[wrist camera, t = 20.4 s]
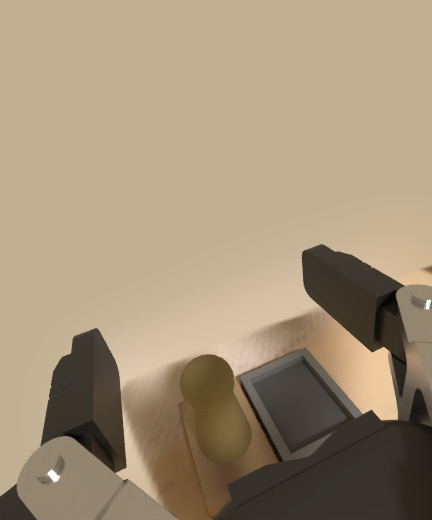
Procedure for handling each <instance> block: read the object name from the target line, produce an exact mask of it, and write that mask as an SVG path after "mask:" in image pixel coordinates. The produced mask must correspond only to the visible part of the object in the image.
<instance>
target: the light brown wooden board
mask: <svg viewBox="0 0 432 520" xmlns="http://www.w3.org/2000/svg"><path fill="white" fill-rule="evenodd" d="M234 382H235V383H234V389H233V392H234V394H235V396H236V398H237V400H238V402H239V404H240V406H241V408H242V410H243V412H244V414H245V416H246V418H247V420H248V422H249V424H250V426H251V432H252V437H251V443H250V445H249V447H248V449H247V451H246V452H245V453H244V454H243V455H242V456H241V457H240V458H239V459H237V460H236V461H234V462H232V463H226V464H220V463H215V462H213V461H211V460H209V459H208V458H206V456H205V455H204V454H203V452H202V451H201V448H200V445H199V441H198V435H197V429H196V424H195V418H194V412H193V407H192V406H191V405H190V404H189V403H188V402H187V401H184V402H182V403H180V404H179V408H180V412H181V415H182V419H183V423H184V426H185V430H186V434H187V437H188V441H189V445H190V449H191V452H192V456H193V460H194V463H195V467H196V471H197V474H198V478H199V482H200V486H201V489H202V493H203V497H204V500H205V504H206V508H207V511H208V513H209V515H210V517H213V516H215V515H216V514H217V513H218V512H219V511H220V509H221V508H222V507H223V506H224V505H225V504H226V503H227V502H228V501H229V500H230V499H231V496H230V493H229V490H228V487H227V485H228V484H230V483H232V482H234V481H236V480H238V479H239V478H241V477H243V476H245V475H247V474H249V473H251V472H253V471H255V470H257V469H259V468H261V467H263V466H265V465H268V464H273V463H279V462H278V460H277V458H276V456H275V454H274V452H273V450H272V448H271V446H270V444H269V442H268V440H267V438H266V436H265V434H264V432H263V430H262V428H261V426H260V424H259V422H258V420H257V418H256V417H255V415H254V413H253V411H252V409H251V407H250V405H249V403H248V401H247V399H246V397H245V395H244V393H243V391H242V389H241V387H240V385H239V383H238V381H237V379H234Z"/></svg>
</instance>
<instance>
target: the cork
mask: <svg viewBox="0 0 432 520" xmlns="http://www.w3.org/2000/svg"><path fill="white" fill-rule="evenodd" d="M234 383H235V382H234V375H233V371H232V369H231V367H230V365H229V364H228V363H227V362H226V361H225V360H224V359H223V358H221V357H218V356H216V355H209V354H207V355H201V356H199V357H197V358H194V359H193V360H192V361H190V362H189V363H188V365H187V366H186V367H185V369H184V371H183V373H182V376H181V390H182V394H183V396H184V398H185V400H186V401H187V402H188V403H189V404H190V405H191V406H192V407H193V412H194V418H195V424H196V429H197V435H198V441H199V445H200V448H201V451H202V452H203V454H204V455H205V456H206V458H208V459H209V460H211V461H213V462H215V463H220V464H226V463H232V462H234V461H236V460H237V459H239V458H240V457H241V456H242V455H243V454H244V453H245V452H246V451H247V449H248V447H249V445H250V443H251V437H252V432H251V426H250V424H249V422H248V420H247V418H246V416H245V414H244V412H243V410H242V408H241V406H240V404H239V402H238V400H237V398H236V396H235V394H234V392H233V389H234Z"/></svg>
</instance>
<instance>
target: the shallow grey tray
mask: <svg viewBox="0 0 432 520" xmlns="http://www.w3.org/2000/svg"><path fill="white" fill-rule="evenodd" d="M240 381H241V384H242V386H243V388H244V390H245V392H246V394H247V396H248V398H249V400H250V402H251V404H252V406H253V408H254V410H255V412H256V413H257V415H258V417H259V419H260V421H261V423H262V425H263V427H264V429H265V431H266V433H267V435H268V437H269V439H270V440H271V442H272V444H273V446H274V448H275V450H276V452H277V454H278V456H279V458H280V460H281V462H284V461H289V460H294V459H299V458H305V457H308V456H310V455H311V454H313V453H314V452H315V451H316V450H317V449H318V448H319V447H320V446H321V445H322V444H323V443H324V441H325V440H326V439H327V438H328V437H329V436H330V435H331V434H332V433H333V432H334V431H335V430H336V429H337V428H338V427H340V426H341V425H343V424H345V423H347V422H349V421H351V420H353V419H355V418H357V417H359V416H361V415H363V414H362V413H361V412H360V410H359V409H358V408H357V407H356V406H355V405H354V403H353V402H352V401H351V400H350V399H349V398H348V396H347V395H346V394H345V393H344V392H343V391H342V390H341V388H340V387H339V386H338V385H337V384H336V383H335V381H334V380H333V379H332V378H331V377H330V376H329V374H328V373H327V372H326V371H325V370H324V369H323V368H322V366H321V365H320V364H319V363H318V362H317V361H316V359H315V358H314V357H313V356H312V355H311V354H310V352H309V351H308V350H307V349H306V348H303V349H300V350H298V351H296V352H294V353H291V354H289V355H287V356H285V357H282V358H280V359H278V360H276V361H274V362H271V363H269V364H267V365H265V366H262V367H260V368H258V369H256V370H253V371H251V372H249V373H247V374H244V375H242V376H240Z"/></svg>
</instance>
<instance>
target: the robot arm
mask: <svg viewBox="0 0 432 520" xmlns="http://www.w3.org/2000/svg"><path fill="white" fill-rule="evenodd" d="M302 266H303V282H304V287H305V290H306V292H307V294H308V295H309V296H310V297H311V298H312V299H313V300H314V301H315V302H316V303H317V304H318V305H319V306H321V307H322V308H323V309H324V310H325V311H326V312H327V313H328V314H330V315H331V316H332V317H333V318H334V319H335V320H336V321H337V322H338V323H340V324H341V325H342V326H343V327H344V328H345V329H346V330H347V331H349V332H350V333H351V334H352V335H353V336H354V337H355V338H356V339H358V340H359V341H360V342H361V343H362V344H363V345H364V346H365V347H367V348H368V349H369V350H370V351H371V352H374V351H376V350H378V349H380V348H382V347H385V348H386V349H388V350H389V353H388V359H389V365H390V370H391V375H392V380H393V385H394V390H395V396H396V401H397V407H398V420H382V421H381V420H380V419H379V418H378V416H377V415H376V414H375V413H374V412H373V411H372V410H370V411H368V412H367V413H365V414H363V415H361V416H359V417H357V418H355V419H353V420H351V421H349V422H347V423H345V424H343V425H341V426H340V427H338V428H337V429H336V430H335V431H334V432H333V433H332V434H331V435H330V436H329V437H328V438H327V439H326V440H325V441H324V443H323V444H322V445H321V446H320V447H319V448H318V449H317V450H316V451H315V452H314V453H313V454H311V455H310V456H308V457H305V458H299V459H294V460H289V461H284V462H279V463H273V464H268V465H265V466H263V467H261V468H259V469H257V470H255V471H253V472H251V473H249V474H247V475H245V476H243V477H241V478H239V479H238V480H236V481H234V482H232V483H230V484H228V485H227V487H228V490H229V493H230V496H231V499H230V500H229V501H228V502H227V503H226V504H225V505H224V506H223V507H222V508H221V509H220V511H219V512H218V513H217V514H216V516H215V518H214V519H213V520H432V287H431V286H427V285H408V286H404V285H402V284H401V283H399V282H397V281H395V280H394V279H392V278H390V277H389V276H387V275H385V274H383V273H381V272H380V271H378V270H376V269H375V268H371V266H370V265H368V264H366V263H363V262H362V261H361V260H359V259H358V258H356V257H354V256H352V255H349V254H345V253H342V252H335V251H333V250H331V249H330V248H328V247H326V246H325V245H322V244H321V245H318V246H315V247H313V248H310V249H307V250H305V251H303V253H302ZM51 387H52V388H50V394H49V398H50V399H49V401H48V406H47V411H46V418H45V423H44V429H43V435H42V441H41V446H40V448H38V449H37V450H36V451H35V452H34V453H33V454H32V455H31V456H30V458H29V459H28V460H27V462H26V463H25V465H24V466H23V468H22V470H21V472H20V475H19V478H18V482H17V484H15V485H14V486H13V487H12V488H11V489H10V490H8V491H7V492H6V493H4V494H3V495H2V496H0V520H178V519H177V518H176V517H174V516H173V515H172V514H171V513H169V512H168V511H167V510H166V509H165V508H163V507H162V506H161V505H160V504H158V503H157V502H156V501H155V500H154V499H152V498H151V497H150V496H149V495H147V494H146V493H145V492H144V491H142V490H141V489H140V488H139V487H138V486H136V485H135V484H134V483H132V482H131V481H129V480H128V479H126V480H123V479H122V478H120V477H119V476H118V475H117V474H115V473H116V472H118V471H120V470H122V469H125V468H126V456H125V442H124V429H123V417H122V404H121V391H120V378H119V371H118V367H117V364H116V361H115V359H114V357H113V355H112V353H111V351H110V350H109V348H108V346H107V344H106V342H105V340H104V339H103V337H102V335H101V333H100V331H99V330H98V329H97V328H95V329H92V330H90V331H87V332H84V333H82V334H79V335H76V336H74V337H73V342H72V351H71V354H69V355H66V356H64V357H62V358H61V360H60V361H59V363H58V364H57V366H56V368H55V370H54V371H53V376H52V383H51Z"/></svg>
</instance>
